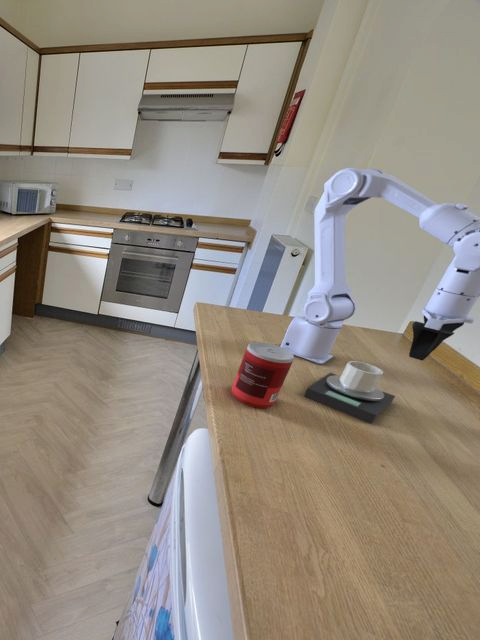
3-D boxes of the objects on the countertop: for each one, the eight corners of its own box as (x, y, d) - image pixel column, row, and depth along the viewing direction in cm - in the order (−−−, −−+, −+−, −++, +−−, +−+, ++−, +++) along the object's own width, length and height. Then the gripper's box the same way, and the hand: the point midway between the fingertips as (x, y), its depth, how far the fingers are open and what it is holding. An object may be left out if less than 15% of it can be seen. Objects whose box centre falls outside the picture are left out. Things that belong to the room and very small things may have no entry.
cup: (334, 383, 85) (344, 364, 83) (343, 377, 87) (353, 358, 85) (367, 396, 81) (378, 376, 79) (376, 388, 83) (386, 369, 82)
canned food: (266, 392, 86) (286, 345, 82) (279, 412, 79) (301, 363, 75) (226, 384, 88) (243, 338, 84) (234, 404, 82) (254, 355, 77)
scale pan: (319, 384, 85) (320, 382, 85) (334, 373, 90) (335, 371, 90) (375, 405, 79) (376, 403, 78) (388, 393, 83) (390, 390, 83)
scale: (303, 396, 86) (308, 385, 85) (326, 380, 92) (331, 370, 91) (371, 423, 77) (377, 412, 76) (390, 404, 84) (396, 393, 83)
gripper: (481, 304, 72) (440, 370, 78) (494, 292, 80) (455, 354, 86) (426, 292, 77) (391, 356, 83) (443, 282, 85) (409, 341, 91)
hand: (420, 354), depth 85 cm, fingers open, 7 cm apart
